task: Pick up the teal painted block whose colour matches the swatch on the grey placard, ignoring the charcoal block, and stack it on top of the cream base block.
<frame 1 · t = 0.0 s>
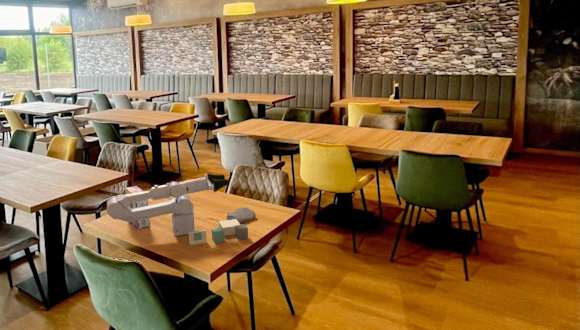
hand: (226, 179, 208), 22 cm above the table, tool horizontal, fingers open, 7 cm apart
stone block: (242, 219, 222), on the table
cream base block: (230, 231, 208), on the table
teal block: (218, 240, 198), on the table
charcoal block: (241, 237, 201), on the table
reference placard: (197, 242, 196), on the table
candy box: (139, 224, 216), on the table
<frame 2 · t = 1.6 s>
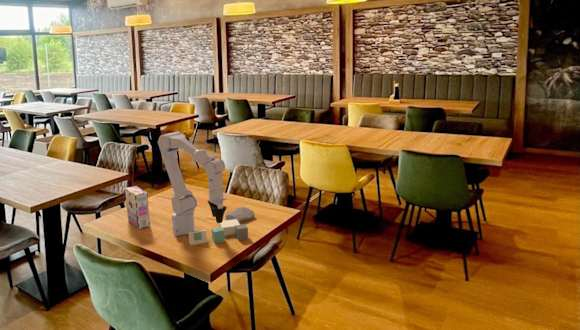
hand: (217, 219, 195), 9 cm above the table, tool pointing down, fingers open, 7 cm apart
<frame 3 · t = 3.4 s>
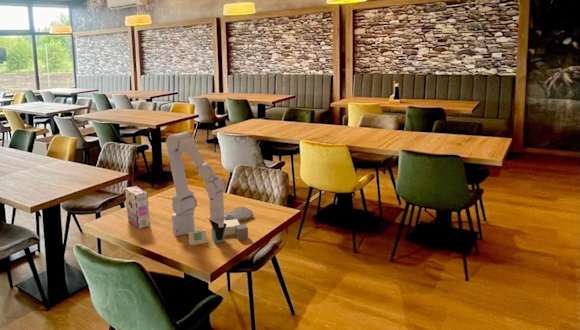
hand: (218, 237, 197), 1 cm above the table, tool pointing down, fingers closed on teal block, 4 cm apart
teal block: (218, 240, 198), on the table, touching gripper
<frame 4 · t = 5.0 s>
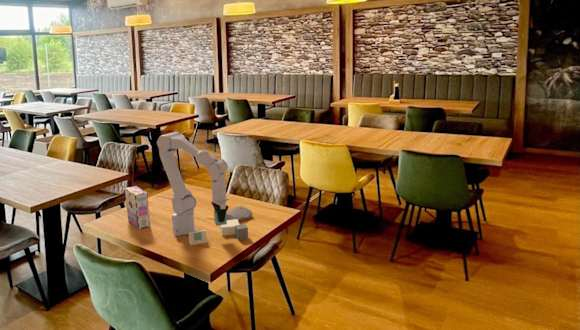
hand: (220, 219, 198), 8 cm above the table, tool pointing down, fingers closed on teal block, 4 cm apart
teal block: (220, 223, 198), point 7 cm above the table, touching gripper
when the fingers open (6 cm above the table, at t = 6.8 s): teal block drops 1 cm, point 4 cm above the table.
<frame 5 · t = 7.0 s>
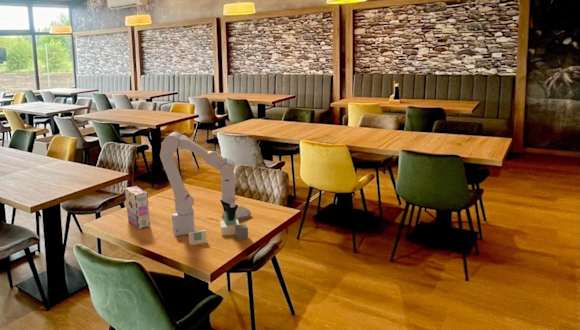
hand: (229, 217, 206), 6 cm above the table, tool pointing down, fingers open, 6 cm apart
teal block: (230, 223, 207), point 4 cm above the table
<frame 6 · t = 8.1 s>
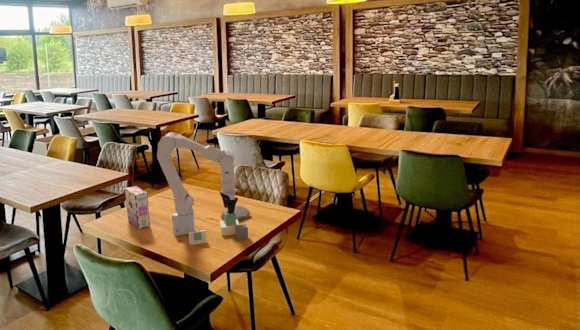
hand: (229, 210, 205), 10 cm above the table, tool pointing down, fingers open, 7 cm apart
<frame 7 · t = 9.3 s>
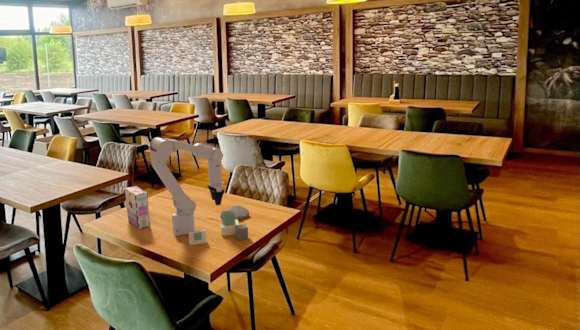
hand: (216, 202, 215), 10 cm above the table, tool pointing down, fingers open, 7 cm apart
cream base block: (229, 231, 207), on the table, touching teal block
teal block: (228, 223, 206), point 4 cm above the table, touching cream base block
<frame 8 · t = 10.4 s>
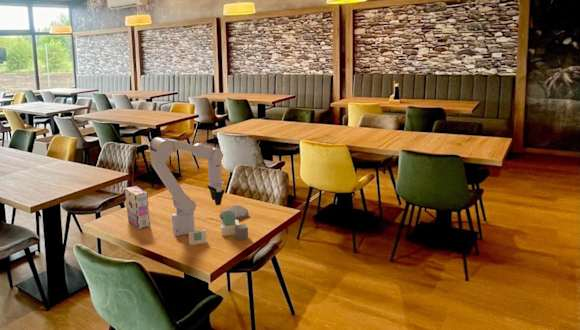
hand: (216, 202, 215), 10 cm above the table, tool pointing down, fingers open, 7 cm apart
cream base block: (230, 232, 207), on the table
teal block: (229, 223, 206), point 4 cm above the table
at the end: teal block 0.3 cm off-centre on the cream base block, point 4.0 cm above the cream base block's base; teal block tilted 0°; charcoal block moved 0.1 cm from its start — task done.
